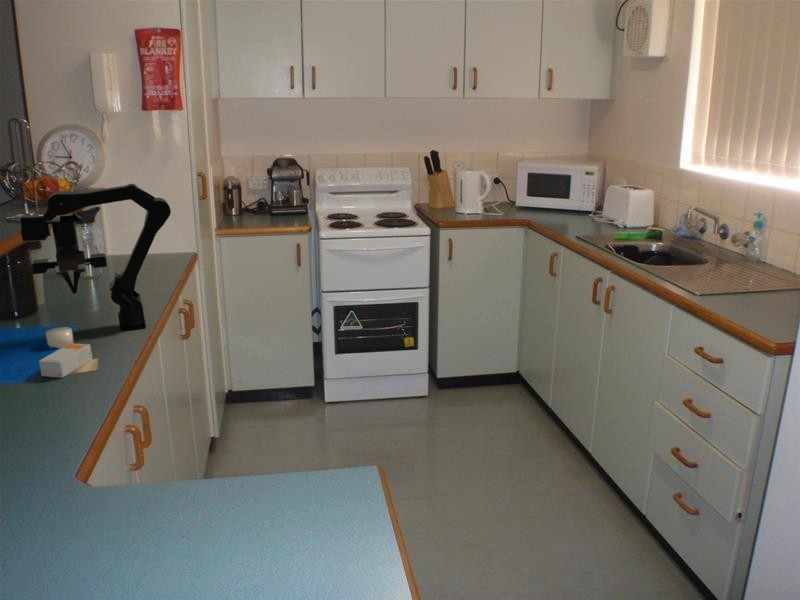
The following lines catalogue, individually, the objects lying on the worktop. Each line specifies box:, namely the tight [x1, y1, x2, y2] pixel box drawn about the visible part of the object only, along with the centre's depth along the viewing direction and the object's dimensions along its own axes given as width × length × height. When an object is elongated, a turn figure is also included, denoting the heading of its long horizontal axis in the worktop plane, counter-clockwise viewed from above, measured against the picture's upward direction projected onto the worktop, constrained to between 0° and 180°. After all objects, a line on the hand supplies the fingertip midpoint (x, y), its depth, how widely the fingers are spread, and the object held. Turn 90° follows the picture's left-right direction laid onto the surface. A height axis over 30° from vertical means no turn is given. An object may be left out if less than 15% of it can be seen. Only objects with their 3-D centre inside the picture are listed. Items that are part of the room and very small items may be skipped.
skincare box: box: [38, 343, 93, 379], centre depth 174 cm, size 6×4×12 cm
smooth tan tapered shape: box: [67, 358, 99, 376], centre depth 175 cm, size 10×8×1 cm
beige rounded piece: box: [45, 326, 75, 350], centre depth 190 cm, size 6×6×4 cm
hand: (74, 293), depth 195 cm, fingers closed
